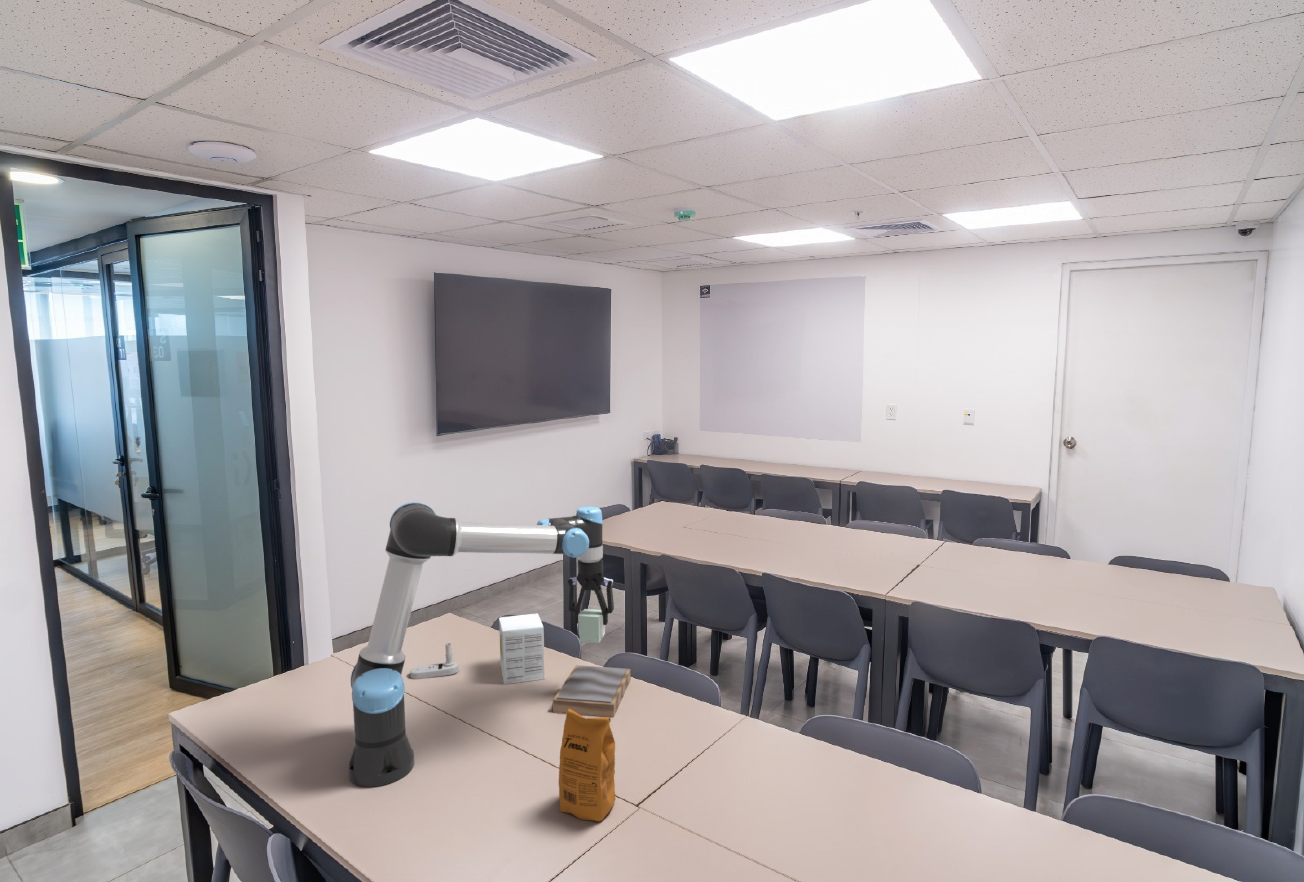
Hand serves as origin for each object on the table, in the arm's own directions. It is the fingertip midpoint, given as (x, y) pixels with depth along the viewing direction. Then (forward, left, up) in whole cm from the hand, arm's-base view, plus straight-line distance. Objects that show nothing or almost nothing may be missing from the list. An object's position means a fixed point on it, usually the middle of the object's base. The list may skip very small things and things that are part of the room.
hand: (591, 634), depth 203 cm
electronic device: (+6, +55, -20) cm, 59 cm away
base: (0, 0, -19) cm, 19 cm away
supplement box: (+11, +27, -20) cm, 35 cm away
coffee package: (-52, -12, -20) cm, 57 cm away
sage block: (0, 0, -1) cm, 1 cm away
